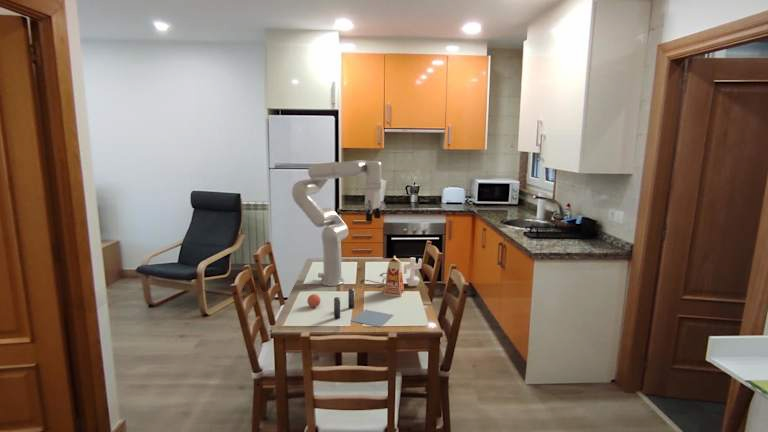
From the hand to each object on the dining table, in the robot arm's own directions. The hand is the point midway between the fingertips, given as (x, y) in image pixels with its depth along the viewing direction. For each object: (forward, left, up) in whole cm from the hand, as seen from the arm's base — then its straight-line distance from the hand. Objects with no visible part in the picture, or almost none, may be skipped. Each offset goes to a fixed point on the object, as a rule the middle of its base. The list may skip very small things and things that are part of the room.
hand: (373, 219), depth 225 cm
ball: (-14, -34, -34) cm, 50 cm away
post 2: (+2, -27, -37) cm, 46 cm away
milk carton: (+12, 0, -37) cm, 39 cm away
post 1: (+2, -40, -37) cm, 55 cm away
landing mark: (+16, -34, -37) cm, 53 cm away
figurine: (+16, +16, -37) cm, 43 cm away
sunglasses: (-2, +14, -38) cm, 40 cm away
